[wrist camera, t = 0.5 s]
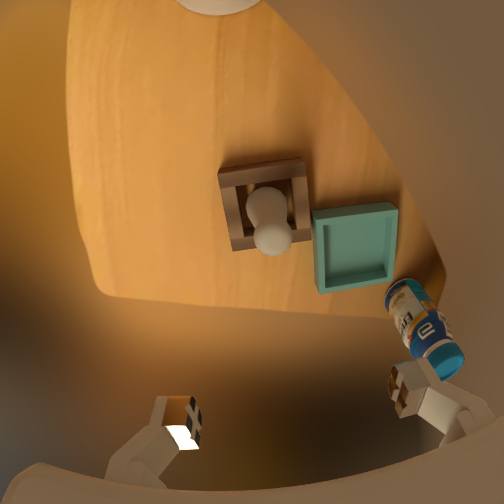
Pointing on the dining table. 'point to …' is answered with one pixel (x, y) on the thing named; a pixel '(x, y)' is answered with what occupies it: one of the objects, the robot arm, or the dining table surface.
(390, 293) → the beverage bottle
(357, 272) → the tray
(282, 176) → the socket collar
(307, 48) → the dining table surface
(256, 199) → the salt shaker
